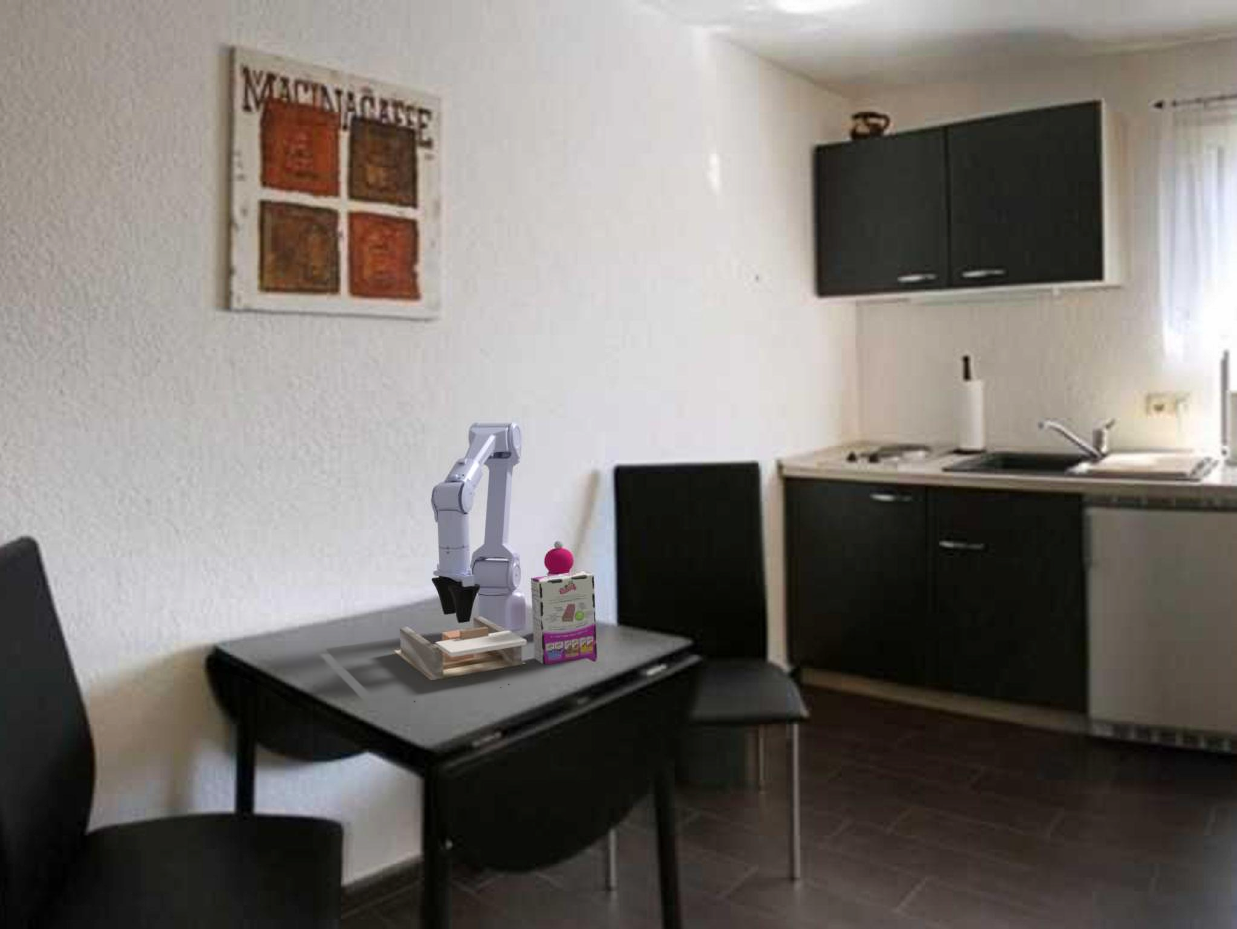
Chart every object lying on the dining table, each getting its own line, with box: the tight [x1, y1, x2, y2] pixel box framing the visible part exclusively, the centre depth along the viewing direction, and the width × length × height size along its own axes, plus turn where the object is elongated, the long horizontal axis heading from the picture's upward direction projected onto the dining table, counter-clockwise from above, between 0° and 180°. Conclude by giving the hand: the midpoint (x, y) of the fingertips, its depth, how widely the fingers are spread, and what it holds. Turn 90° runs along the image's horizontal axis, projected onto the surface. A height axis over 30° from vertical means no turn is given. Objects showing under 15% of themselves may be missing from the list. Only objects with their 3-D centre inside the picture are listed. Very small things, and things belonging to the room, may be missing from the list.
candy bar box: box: [530, 570, 598, 665], centre depth 183 cm, size 11×5×16 cm, turn 117°
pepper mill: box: [543, 540, 575, 576], centre depth 200 cm, size 7×7×20 cm
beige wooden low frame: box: [394, 615, 526, 681], centre depth 185 cm, size 18×22×6 cm
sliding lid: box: [435, 627, 528, 657], centre depth 174 cm, size 14×8×2 cm, turn 119°
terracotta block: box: [441, 628, 474, 661], centre depth 185 cm, size 4×4×4 cm
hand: (456, 617), depth 184 cm, fingers open, 7 cm apart
